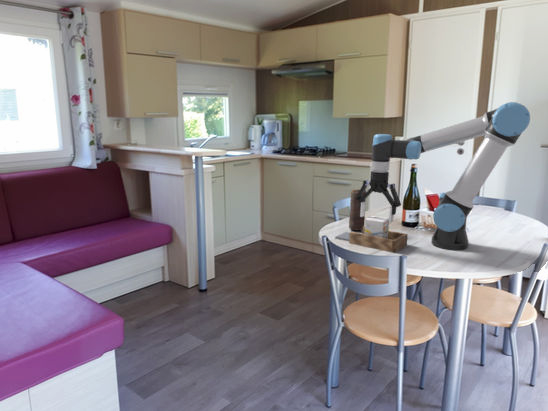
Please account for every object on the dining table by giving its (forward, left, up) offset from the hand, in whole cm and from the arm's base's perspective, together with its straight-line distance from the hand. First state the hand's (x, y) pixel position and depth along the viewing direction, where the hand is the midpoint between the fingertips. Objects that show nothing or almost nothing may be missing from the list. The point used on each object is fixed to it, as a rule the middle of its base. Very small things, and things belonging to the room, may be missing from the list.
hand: (376, 219), depth 193 cm
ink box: (0, 0, -11) cm, 11 cm away
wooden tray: (0, 0, -11) cm, 11 cm away
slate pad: (+14, -1, -11) cm, 18 cm away
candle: (+17, -14, -11) cm, 25 cm away
